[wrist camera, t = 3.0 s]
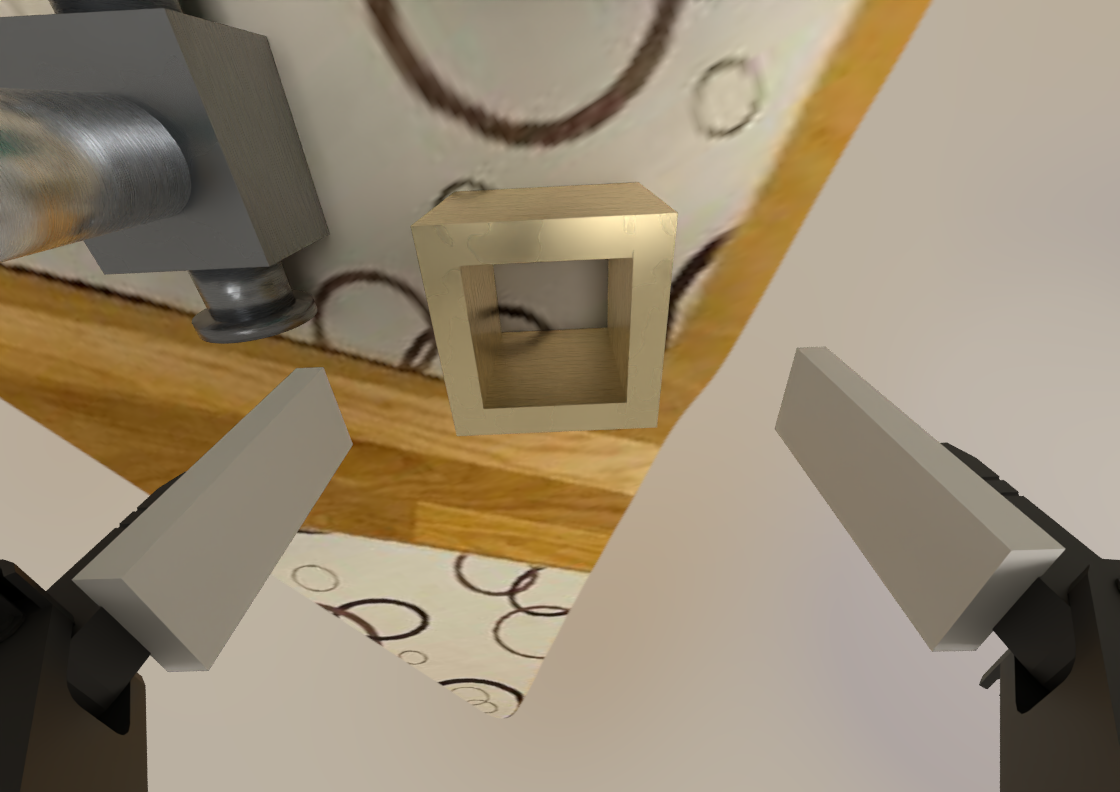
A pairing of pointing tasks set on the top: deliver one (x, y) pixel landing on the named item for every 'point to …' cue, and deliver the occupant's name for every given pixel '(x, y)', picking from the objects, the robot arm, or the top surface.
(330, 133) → the top surface
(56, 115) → the valve
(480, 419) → the collar
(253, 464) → the robot arm
